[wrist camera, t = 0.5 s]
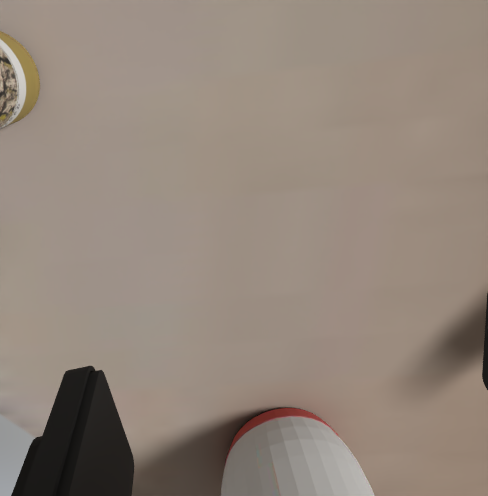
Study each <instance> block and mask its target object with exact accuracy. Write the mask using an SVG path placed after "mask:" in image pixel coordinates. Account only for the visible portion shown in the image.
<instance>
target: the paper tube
mask: <svg viewBox="0 0 488 496" xmlns="http://www.w3.org/2000/svg"><path fill="white" fill-rule="evenodd" d="M39 90H40V81H39V74H38V71H37V68H36V65H35V63H34V61H33V59H32V58H31V56H30V54H29V53H28V52H27V50H26V49H25V48H24V47H23V46H22V45H21V44H20V43H19V42H17V41H16V40H15V39H14V38H12V37H10V36H9V35H7V34H5V33H3V32H1V31H0V129H1V128H3V127H5V126H7V125H9V124H12V123H14V122H17V121H19V120H21V119H22V118H24V117H25V116H26V115H27V114H28V113H29V112H30V111H31V110H32V109H33V107H34V105H35V104H36V101H37V99H38V95H39Z"/></svg>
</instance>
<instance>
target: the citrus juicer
mask: <svg viewBox="0 0 488 496" xmlns="http://www.w3.org/2000/svg"><path fill="white" fill-rule="evenodd" d="M224 469H225V470H224V474H223V480H222V487H221V496H375V495H374V493H373V491H372V488H371V486H370V484H369V482H368V480H367V478H366V477H365V475H364V473H363V471H362V469H361V467H360V465H359V463H358V461H357V460H356V458H355V457H354V455H353V454H352V453H351V451H350V450H349V448H348V447H347V446H346V445H345V443H344V442H343V441H342V440H341V439H340V438H339V436H338V434H337V433H336V432H335V431H334V430H333V429H332V428H331V427H330V426H329V425H328V424H327V423H326V422H324V421H323V420H322V419H320V418H319V417H317V416H316V415H314V414H313V413H310V412H308V411H305V410H301V409H296V408H282V409H275V410H271V411H268V412H265V413H262V414H260V415H258V416H256V417H254V418H253V419H251V420H250V421H248V422H247V423H246V424H245V425H244V426H243V427H242V428H241V429H240V430H239V431H238V433H237V434H236V436H235V437H234V439H233V442H232V444H231V447H230V449H229V451H228V454H227V457H226V461H225V468H224Z"/></svg>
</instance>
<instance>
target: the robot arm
mask: <svg viewBox="0 0 488 496" xmlns="http://www.w3.org/2000/svg"><path fill="white" fill-rule="evenodd" d="M482 377H483V382H484V384H485V387H486V388H487V390H488V294H487V309H486V325H485V341H484V357H483V373H482ZM133 475H134V460H133V455H132V452H131V449H130V446H129V443H128V440H127V437H126V435H125V432H124V429H123V426H122V423H121V420H120V417H119V415H118V412H117V409H116V406H115V403H114V400H113V397H112V395H111V392H110V389H109V386H108V383H107V380H106V377H105V375H104V372H103V371H102V370H99V371H95V369H94V367H93V366H87V367H82V368H77V369H73V370H68V371H66V372H65V374H64V377H63V379H62V382H61V385H60V388H59V391H58V393H57V396H56V399H55V402H54V405H53V408H52V410H51V413H50V416H49V419H48V422H47V425H46V427H45V430H44V433H43V436H41V437H37V438H35V439H34V440H33V442H32V444H31V445H30V448H29V450H28V453H27V456H26V458H25V461H24V464H23V466H22V469H21V472H20V474H19V477H18V479H17V482H16V485H15V487H14V490H13V493H12V495H11V496H131V495H132V485H133Z"/></svg>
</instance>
